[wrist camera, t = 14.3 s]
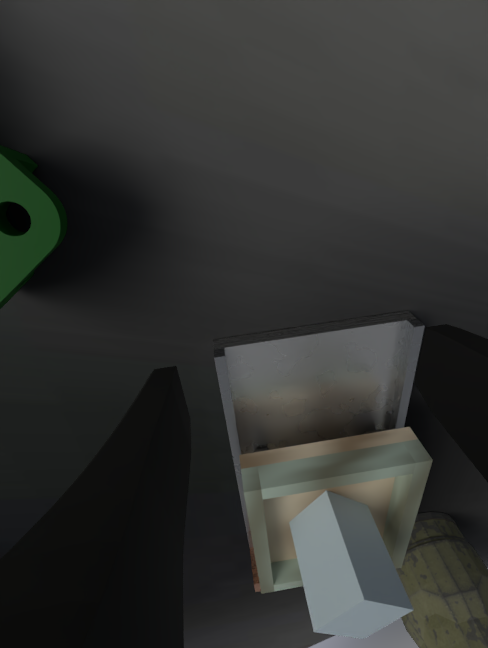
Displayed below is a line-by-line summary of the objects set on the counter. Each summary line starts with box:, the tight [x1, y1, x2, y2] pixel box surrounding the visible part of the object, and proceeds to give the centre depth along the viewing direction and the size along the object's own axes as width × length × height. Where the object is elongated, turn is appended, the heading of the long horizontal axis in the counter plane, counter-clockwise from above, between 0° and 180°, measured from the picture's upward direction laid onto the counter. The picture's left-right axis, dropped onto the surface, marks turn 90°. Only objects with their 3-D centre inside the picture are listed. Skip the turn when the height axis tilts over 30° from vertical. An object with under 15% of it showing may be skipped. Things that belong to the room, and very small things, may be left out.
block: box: [289, 490, 414, 639], centre depth 21 cm, size 4×4×6 cm
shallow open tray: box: [239, 427, 433, 594], centre depth 24 cm, size 11×13×4 cm
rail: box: [213, 311, 425, 592], centre depth 24 cm, size 12×22×4 cm, turn 6°
